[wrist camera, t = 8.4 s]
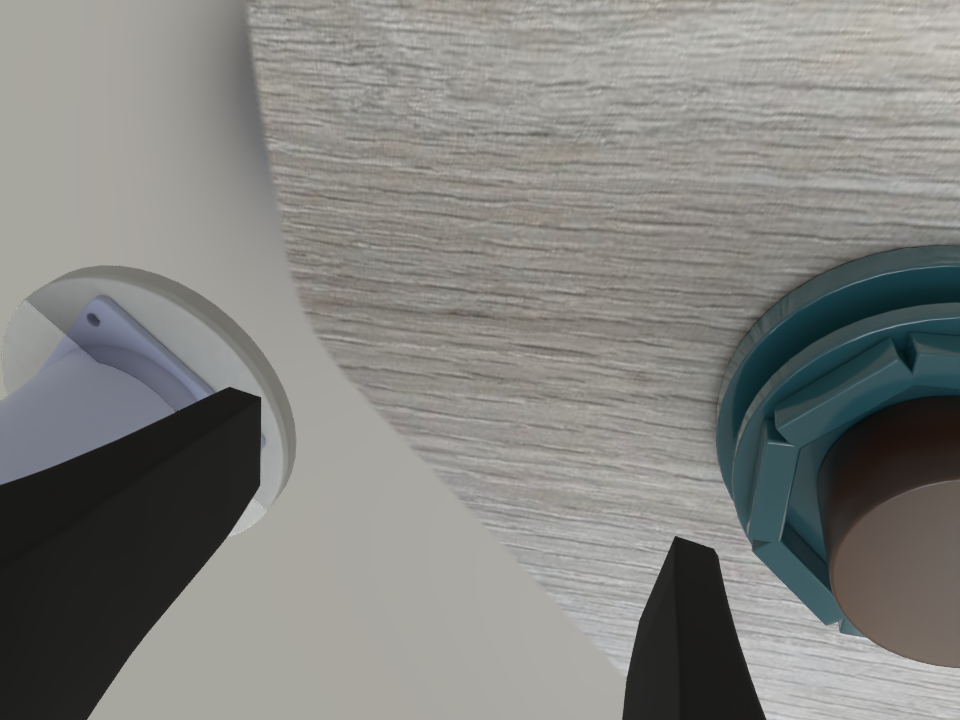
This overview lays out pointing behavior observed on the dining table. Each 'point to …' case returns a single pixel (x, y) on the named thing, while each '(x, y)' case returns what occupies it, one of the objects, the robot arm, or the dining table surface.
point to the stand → (829, 395)
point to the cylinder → (897, 528)
